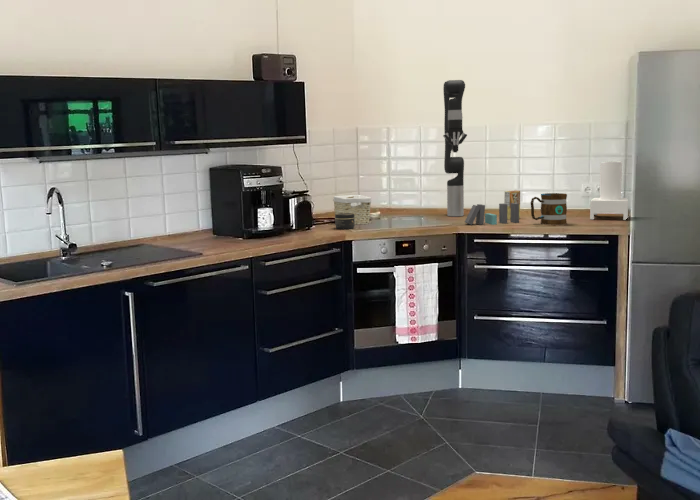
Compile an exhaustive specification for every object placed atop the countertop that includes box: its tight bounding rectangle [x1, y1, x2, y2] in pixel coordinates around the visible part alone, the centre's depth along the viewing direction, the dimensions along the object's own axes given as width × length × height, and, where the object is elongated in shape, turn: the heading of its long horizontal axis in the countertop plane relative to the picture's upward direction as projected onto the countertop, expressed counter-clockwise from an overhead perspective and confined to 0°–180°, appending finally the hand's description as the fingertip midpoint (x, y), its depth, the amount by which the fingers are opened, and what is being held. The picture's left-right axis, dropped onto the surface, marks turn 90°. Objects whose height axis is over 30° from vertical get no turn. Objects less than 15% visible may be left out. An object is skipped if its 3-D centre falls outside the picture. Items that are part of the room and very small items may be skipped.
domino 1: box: [464, 204, 480, 226], centre depth 413 cm, size 2×5×10 cm, turn 12°
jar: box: [334, 213, 356, 231], centre depth 408 cm, size 10×10×8 cm
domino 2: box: [475, 203, 486, 225], centre depth 414 cm, size 2×5×10 cm, turn 12°
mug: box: [530, 192, 568, 226], centre depth 409 cm, size 20×14×15 cm
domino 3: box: [498, 203, 508, 225], centre depth 417 cm, size 2×5×10 cm, turn 12°
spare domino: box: [484, 212, 498, 226], centre depth 416 cm, size 2×5×10 cm
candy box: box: [503, 189, 521, 221], centre depth 435 cm, size 9×4×15 cm, turn 129°
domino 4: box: [510, 203, 520, 224], centre depth 418 cm, size 2×5×10 cm, turn 12°
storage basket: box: [332, 194, 372, 225], centre depth 434 cm, size 24×16×15 cm
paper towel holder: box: [589, 160, 629, 221], centre depth 429 cm, size 19×19×30 cm
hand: (455, 152), depth 420 cm, fingers closed
